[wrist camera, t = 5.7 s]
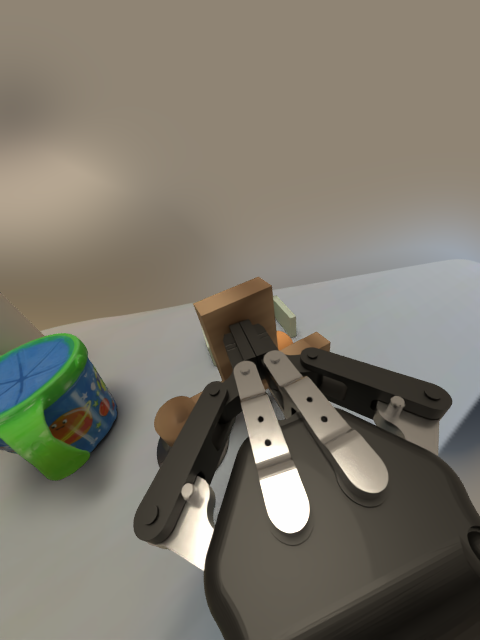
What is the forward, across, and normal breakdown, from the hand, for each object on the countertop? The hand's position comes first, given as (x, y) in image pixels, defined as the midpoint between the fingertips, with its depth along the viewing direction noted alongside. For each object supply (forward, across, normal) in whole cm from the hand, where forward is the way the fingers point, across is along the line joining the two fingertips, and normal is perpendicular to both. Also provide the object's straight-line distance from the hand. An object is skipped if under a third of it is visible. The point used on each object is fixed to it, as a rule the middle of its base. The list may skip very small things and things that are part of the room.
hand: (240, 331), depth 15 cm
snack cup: (+6, +19, +12) cm, 23 cm away
